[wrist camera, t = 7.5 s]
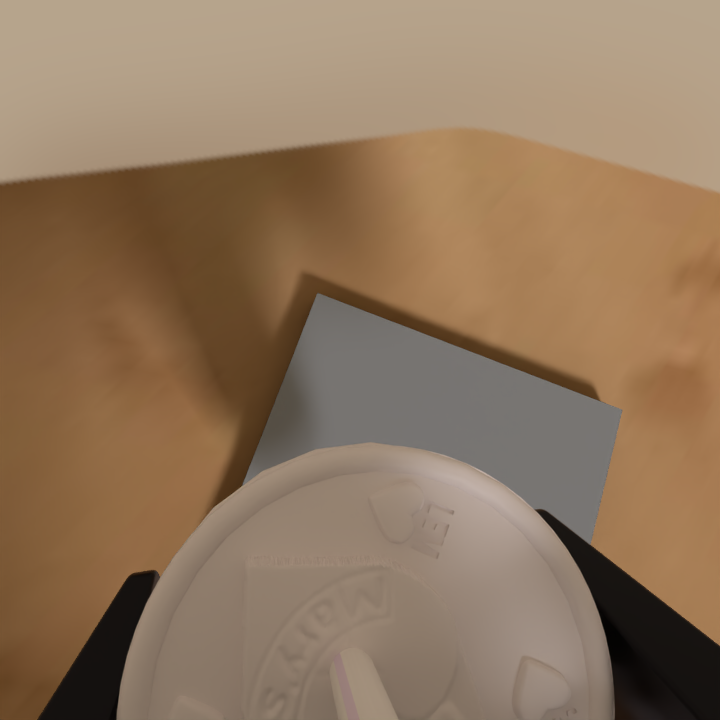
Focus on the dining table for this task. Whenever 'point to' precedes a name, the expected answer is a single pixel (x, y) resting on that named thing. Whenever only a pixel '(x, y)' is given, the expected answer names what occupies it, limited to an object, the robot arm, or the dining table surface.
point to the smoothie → (370, 602)
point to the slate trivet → (439, 411)
